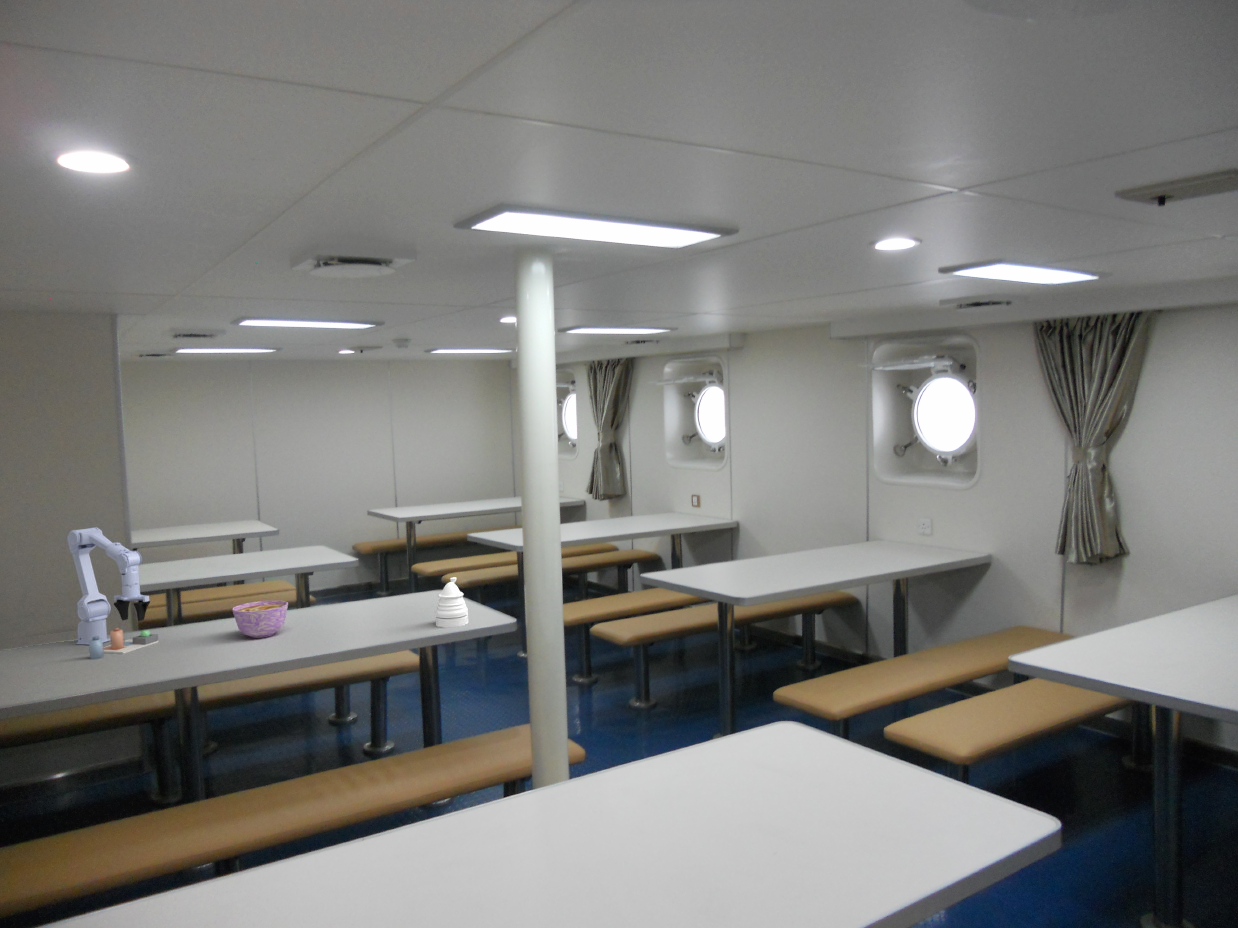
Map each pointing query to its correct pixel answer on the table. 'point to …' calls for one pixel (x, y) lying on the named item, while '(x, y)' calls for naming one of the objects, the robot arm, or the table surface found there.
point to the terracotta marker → (116, 639)
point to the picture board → (133, 644)
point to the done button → (145, 633)
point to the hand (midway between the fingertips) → (133, 620)
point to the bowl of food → (260, 617)
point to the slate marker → (96, 648)
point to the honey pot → (451, 607)
